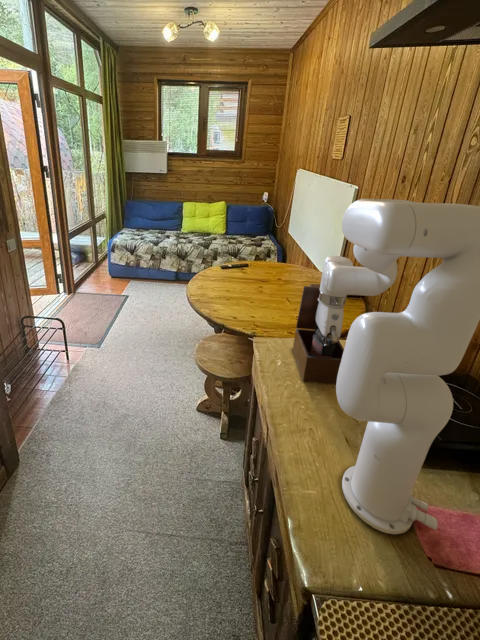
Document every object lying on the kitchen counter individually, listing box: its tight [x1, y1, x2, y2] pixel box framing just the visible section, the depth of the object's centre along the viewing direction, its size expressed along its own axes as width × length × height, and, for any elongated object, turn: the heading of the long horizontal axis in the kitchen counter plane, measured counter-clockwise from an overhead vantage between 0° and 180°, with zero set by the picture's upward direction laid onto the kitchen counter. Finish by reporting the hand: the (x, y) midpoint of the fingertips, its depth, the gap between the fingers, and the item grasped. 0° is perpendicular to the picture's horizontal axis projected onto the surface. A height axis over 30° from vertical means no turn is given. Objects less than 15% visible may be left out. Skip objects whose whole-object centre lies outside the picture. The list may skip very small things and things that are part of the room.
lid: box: [295, 283, 321, 330], centre depth 104 cm, size 16×13×6 cm
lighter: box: [310, 329, 332, 358], centre depth 97 cm, size 8×3×10 cm, turn 19°
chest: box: [292, 328, 345, 385], centre depth 100 cm, size 16×13×9 cm
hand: (322, 347), depth 97 cm, fingers closed on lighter, 7 cm apart
